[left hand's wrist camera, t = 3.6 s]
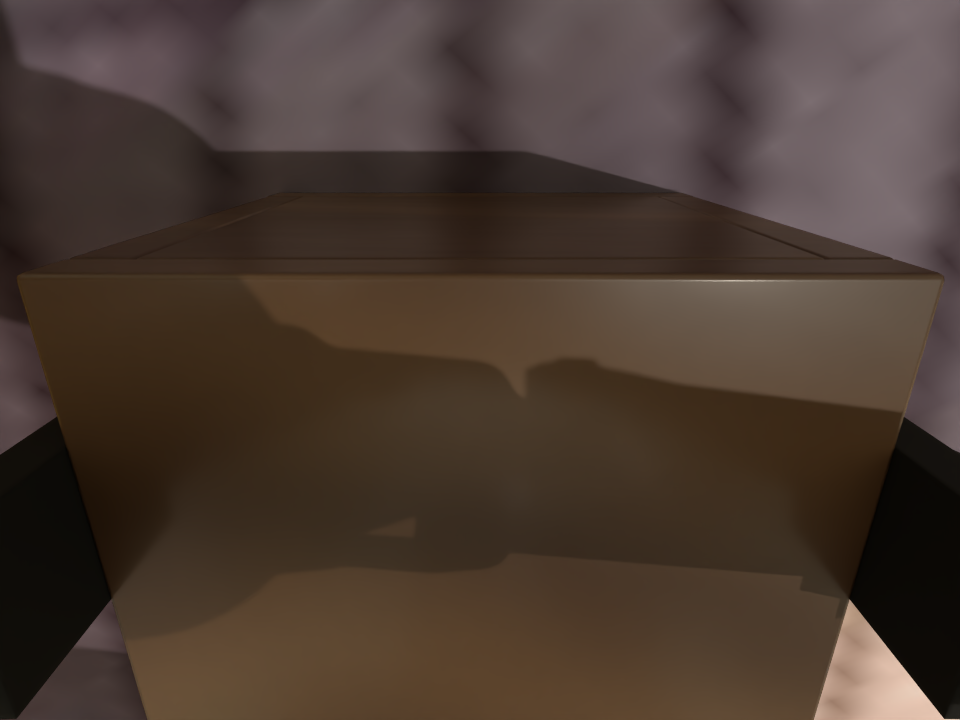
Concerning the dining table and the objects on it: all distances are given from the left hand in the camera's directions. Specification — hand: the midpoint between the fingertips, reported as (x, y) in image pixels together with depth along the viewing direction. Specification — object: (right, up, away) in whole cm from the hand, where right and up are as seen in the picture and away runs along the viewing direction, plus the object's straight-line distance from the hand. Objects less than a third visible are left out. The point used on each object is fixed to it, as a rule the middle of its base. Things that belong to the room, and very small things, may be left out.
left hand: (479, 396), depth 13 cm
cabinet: (0, -4, +8) cm, 9 cm away
